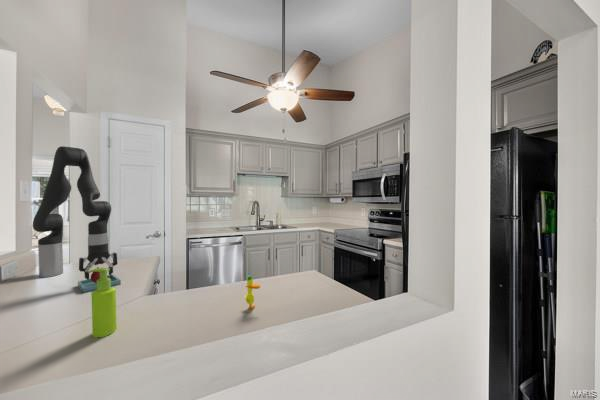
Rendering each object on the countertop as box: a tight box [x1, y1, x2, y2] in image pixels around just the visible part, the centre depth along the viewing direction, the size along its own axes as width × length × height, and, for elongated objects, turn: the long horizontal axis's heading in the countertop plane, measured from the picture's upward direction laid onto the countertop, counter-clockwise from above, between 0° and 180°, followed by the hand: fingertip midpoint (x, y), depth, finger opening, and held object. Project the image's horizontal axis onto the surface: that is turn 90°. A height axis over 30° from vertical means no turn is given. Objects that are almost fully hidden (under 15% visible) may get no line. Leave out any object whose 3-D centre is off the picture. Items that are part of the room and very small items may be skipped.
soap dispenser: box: [88, 267, 118, 339], centre depth 76 cm, size 6×7×20 cm
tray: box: [77, 273, 122, 294], centre depth 117 cm, size 14×14×2 cm
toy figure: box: [243, 275, 261, 310], centre depth 92 cm, size 7×4×12 cm, turn 77°
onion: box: [90, 266, 100, 284], centre depth 117 cm, size 6×6×8 cm
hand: (99, 276), depth 117 cm, fingers open, 8 cm apart
